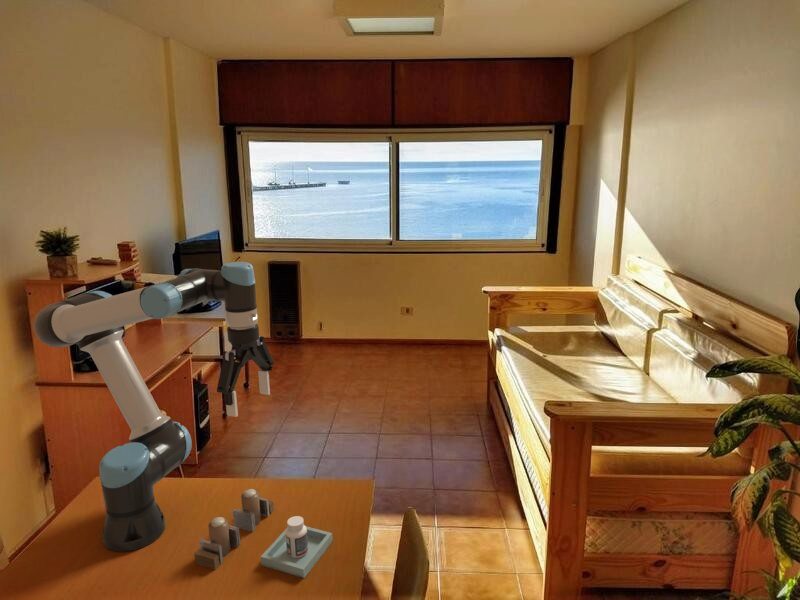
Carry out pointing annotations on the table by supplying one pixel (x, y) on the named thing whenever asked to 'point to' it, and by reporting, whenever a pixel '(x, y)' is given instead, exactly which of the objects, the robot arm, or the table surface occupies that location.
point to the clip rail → (230, 535)
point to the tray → (297, 566)
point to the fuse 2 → (251, 503)
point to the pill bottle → (296, 537)
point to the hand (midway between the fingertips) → (249, 404)
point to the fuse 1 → (220, 534)
